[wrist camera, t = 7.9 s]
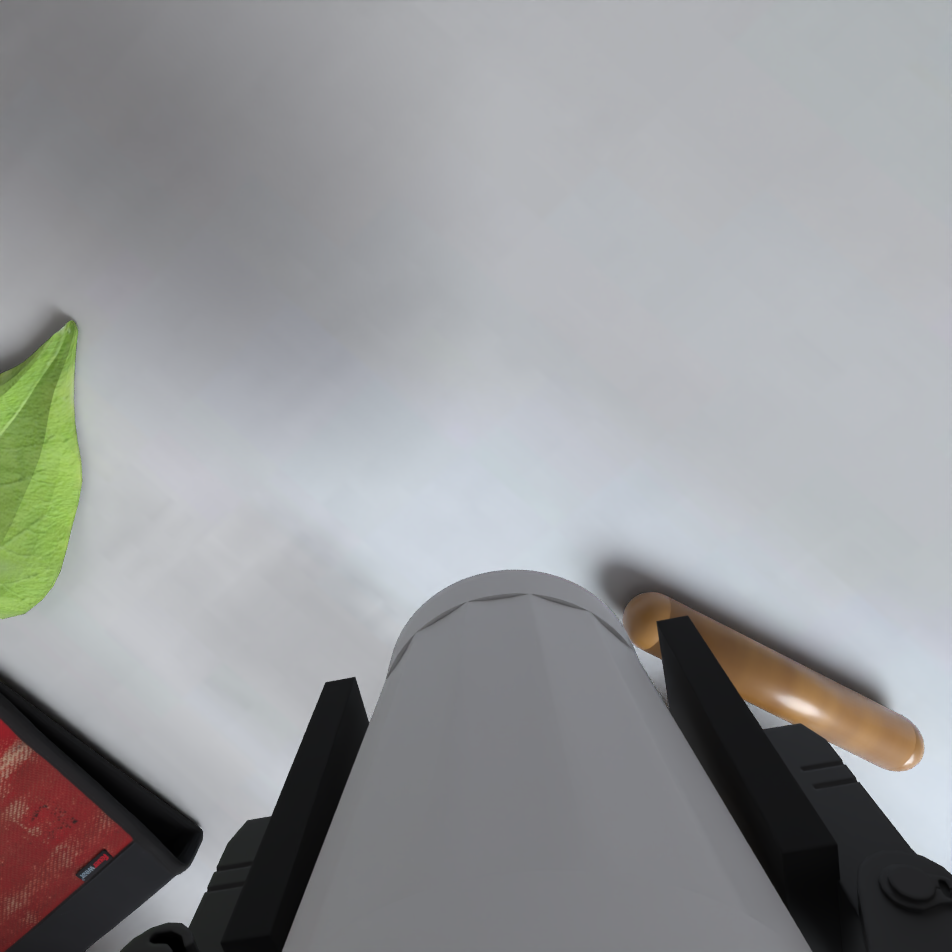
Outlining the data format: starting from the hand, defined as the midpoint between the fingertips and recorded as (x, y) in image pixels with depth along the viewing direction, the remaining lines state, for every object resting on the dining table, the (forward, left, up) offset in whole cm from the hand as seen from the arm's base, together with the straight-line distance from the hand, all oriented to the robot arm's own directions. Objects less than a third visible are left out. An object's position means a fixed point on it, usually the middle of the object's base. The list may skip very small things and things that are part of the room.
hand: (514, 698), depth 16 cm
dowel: (0, +13, -11) cm, 17 cm away
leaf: (+8, -19, -11) cm, 23 cm away
